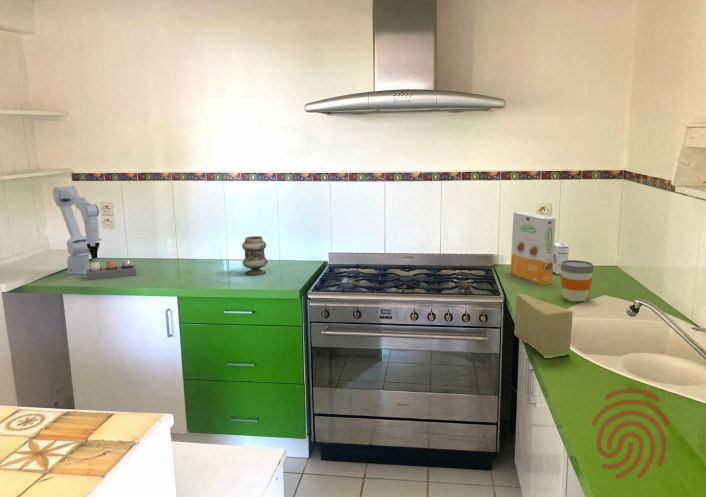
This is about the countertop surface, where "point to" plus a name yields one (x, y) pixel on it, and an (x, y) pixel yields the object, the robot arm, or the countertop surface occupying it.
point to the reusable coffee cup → (576, 279)
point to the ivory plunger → (95, 266)
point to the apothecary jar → (254, 255)
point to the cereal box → (533, 246)
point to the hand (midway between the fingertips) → (94, 258)
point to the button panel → (111, 273)
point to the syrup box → (559, 256)
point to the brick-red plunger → (111, 265)
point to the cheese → (543, 325)
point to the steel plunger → (126, 264)
